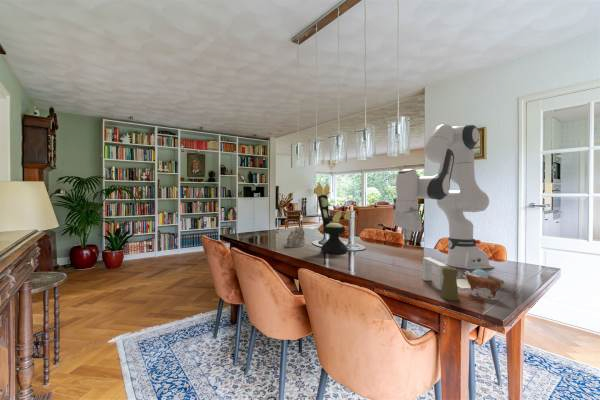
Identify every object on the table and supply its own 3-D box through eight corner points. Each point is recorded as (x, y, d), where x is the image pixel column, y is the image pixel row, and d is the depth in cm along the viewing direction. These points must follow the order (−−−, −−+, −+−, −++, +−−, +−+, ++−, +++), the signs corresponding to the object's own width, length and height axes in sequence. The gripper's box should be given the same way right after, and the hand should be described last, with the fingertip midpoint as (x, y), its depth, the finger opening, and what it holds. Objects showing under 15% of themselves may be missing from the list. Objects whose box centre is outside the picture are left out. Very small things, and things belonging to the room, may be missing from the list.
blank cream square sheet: (471, 279, 134) (471, 278, 134) (490, 288, 122) (490, 287, 122) (445, 279, 134) (445, 279, 134) (461, 288, 122) (461, 288, 122)
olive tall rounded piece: (437, 294, 115) (437, 265, 115) (452, 294, 115) (453, 265, 115) (446, 300, 109) (446, 269, 109) (462, 299, 109) (462, 269, 109)
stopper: (481, 278, 136) (481, 271, 136) (504, 288, 122) (504, 281, 122) (476, 278, 136) (477, 271, 136) (499, 288, 122) (499, 281, 122)
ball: (484, 273, 132) (473, 264, 131) (494, 276, 126) (483, 268, 125) (476, 284, 131) (465, 276, 131) (485, 288, 125) (474, 280, 125)
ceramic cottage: (297, 242, 230) (296, 222, 229) (309, 246, 217) (308, 225, 215) (278, 245, 222) (278, 225, 220) (290, 250, 208) (290, 228, 207)
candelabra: (341, 256, 181) (341, 180, 180) (308, 252, 192) (308, 180, 191) (352, 250, 198) (352, 181, 196) (321, 247, 209) (321, 181, 207)
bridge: (429, 279, 135) (429, 257, 134) (447, 290, 120) (448, 265, 120) (422, 279, 135) (422, 257, 134) (440, 290, 120) (440, 265, 119)
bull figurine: (464, 289, 121) (465, 269, 120) (501, 299, 109) (502, 277, 109) (458, 291, 118) (458, 270, 118) (495, 302, 107) (496, 279, 107)
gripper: (426, 208, 121) (426, 243, 121) (404, 205, 141) (404, 235, 142) (410, 209, 120) (410, 244, 121) (391, 205, 141) (391, 235, 141)
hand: (407, 239), depth 132 cm, fingers closed
